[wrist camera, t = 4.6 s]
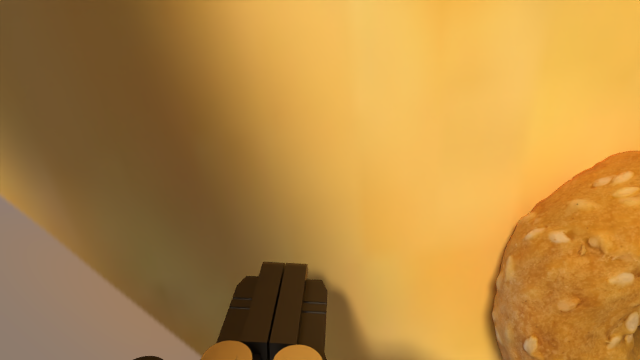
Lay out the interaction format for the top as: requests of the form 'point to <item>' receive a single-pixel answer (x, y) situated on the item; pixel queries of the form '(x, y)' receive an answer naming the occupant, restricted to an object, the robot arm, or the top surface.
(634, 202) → the bagel
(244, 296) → the robot arm
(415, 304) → the top surface
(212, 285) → the top surface
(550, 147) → the top surface
